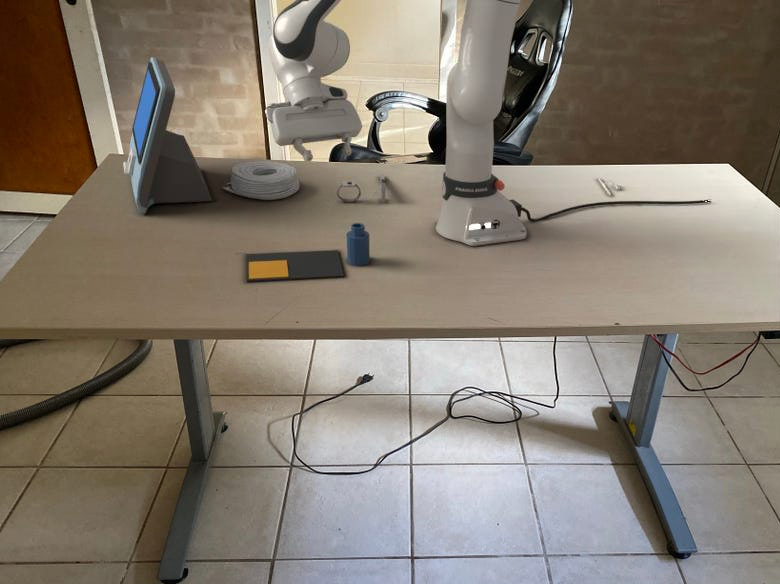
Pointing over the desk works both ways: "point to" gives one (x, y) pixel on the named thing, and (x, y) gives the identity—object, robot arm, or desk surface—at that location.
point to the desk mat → (293, 266)
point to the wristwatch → (348, 184)
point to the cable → (263, 180)
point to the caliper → (382, 187)
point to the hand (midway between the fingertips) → (328, 157)
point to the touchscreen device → (161, 148)
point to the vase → (358, 245)
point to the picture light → (606, 187)
